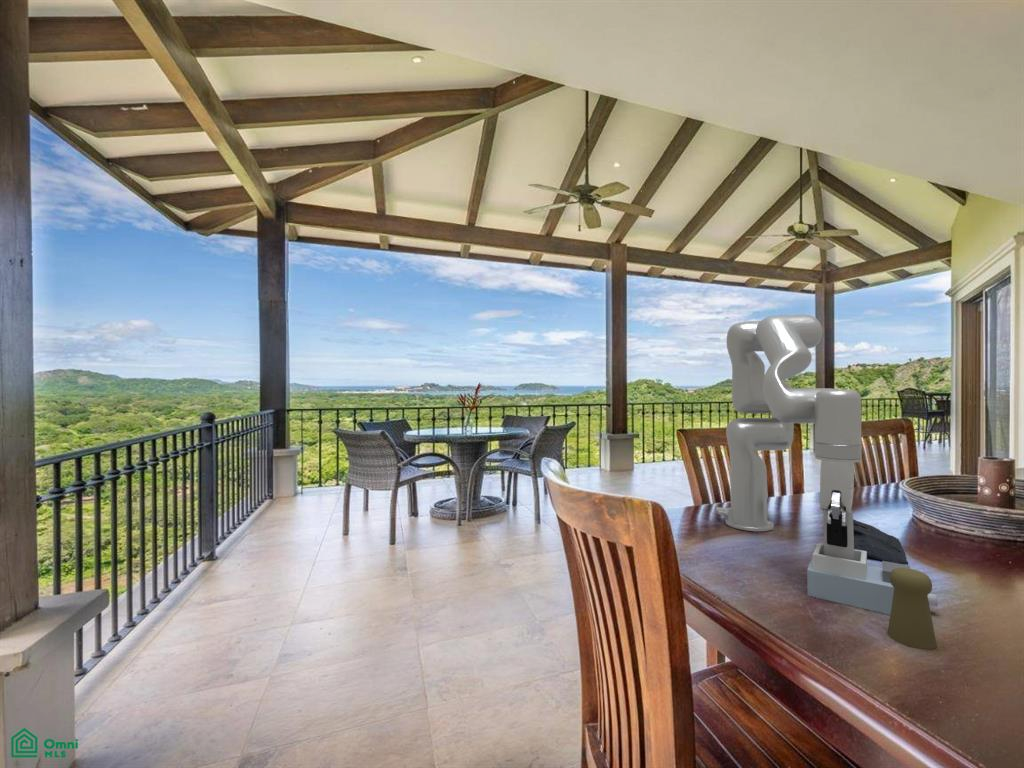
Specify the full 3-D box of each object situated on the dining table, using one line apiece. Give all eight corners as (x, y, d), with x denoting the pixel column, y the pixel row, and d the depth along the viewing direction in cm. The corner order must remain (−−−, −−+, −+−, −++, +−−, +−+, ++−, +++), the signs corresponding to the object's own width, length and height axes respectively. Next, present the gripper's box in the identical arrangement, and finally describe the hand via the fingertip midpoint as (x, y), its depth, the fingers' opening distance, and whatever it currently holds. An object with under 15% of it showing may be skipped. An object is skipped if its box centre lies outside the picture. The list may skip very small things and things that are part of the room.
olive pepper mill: (877, 630, 77) (876, 564, 77) (911, 628, 77) (909, 562, 78) (912, 650, 71) (910, 579, 71) (948, 648, 71) (946, 577, 71)
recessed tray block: (807, 595, 90) (806, 554, 90) (813, 578, 98) (812, 541, 98) (940, 626, 78) (939, 578, 78) (934, 604, 86) (933, 561, 86)
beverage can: (849, 564, 92) (847, 504, 93) (859, 573, 88) (856, 510, 88) (821, 562, 94) (819, 502, 94) (829, 570, 89) (827, 508, 90)
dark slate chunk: (830, 555, 112) (829, 536, 112) (829, 531, 130) (828, 515, 130) (912, 569, 103) (912, 547, 103) (899, 541, 122) (899, 523, 122)
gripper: (819, 445, 100) (820, 524, 100) (810, 456, 86) (811, 547, 86) (862, 448, 95) (863, 530, 95) (860, 460, 82) (861, 556, 82)
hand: (838, 538), depth 91 cm, fingers open, 9 cm apart
